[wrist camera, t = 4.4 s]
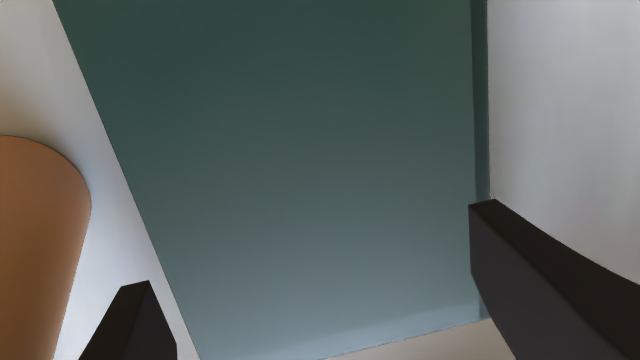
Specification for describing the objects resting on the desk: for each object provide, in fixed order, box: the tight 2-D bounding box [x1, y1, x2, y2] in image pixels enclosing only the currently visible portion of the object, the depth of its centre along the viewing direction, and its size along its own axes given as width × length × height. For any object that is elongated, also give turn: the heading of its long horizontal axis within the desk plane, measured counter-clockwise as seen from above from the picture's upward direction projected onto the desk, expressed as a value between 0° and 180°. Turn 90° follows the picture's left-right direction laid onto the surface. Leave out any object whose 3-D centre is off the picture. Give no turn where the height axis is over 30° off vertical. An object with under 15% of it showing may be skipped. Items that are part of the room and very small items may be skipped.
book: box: [52, 0, 491, 360], centre depth 18 cm, size 10×15×2 cm, turn 9°
